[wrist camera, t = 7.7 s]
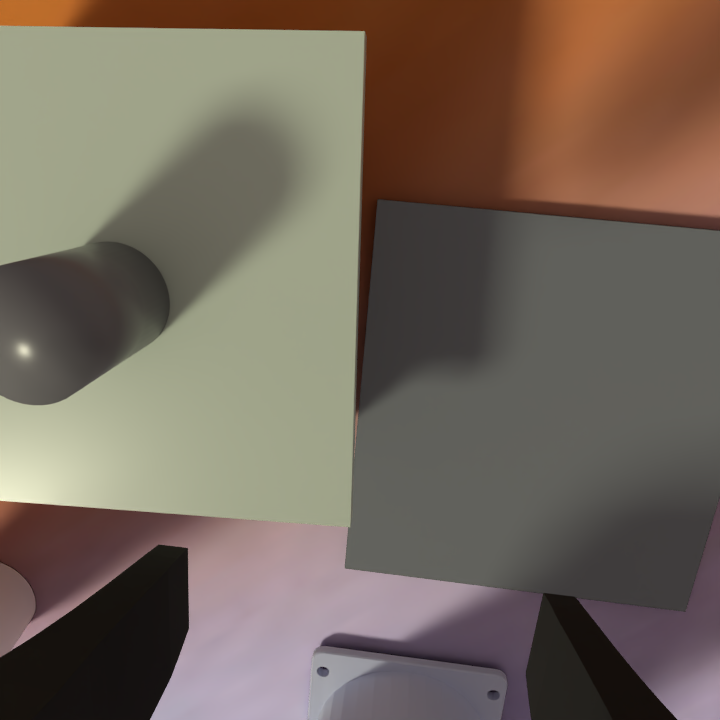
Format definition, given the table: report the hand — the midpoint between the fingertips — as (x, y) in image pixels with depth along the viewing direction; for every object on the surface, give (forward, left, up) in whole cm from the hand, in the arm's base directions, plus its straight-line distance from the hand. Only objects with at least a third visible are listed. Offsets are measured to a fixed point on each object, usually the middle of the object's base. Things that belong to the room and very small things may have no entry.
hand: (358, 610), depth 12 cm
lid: (+5, +7, -6) cm, 10 cm away
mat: (0, -6, -10) cm, 12 cm away
